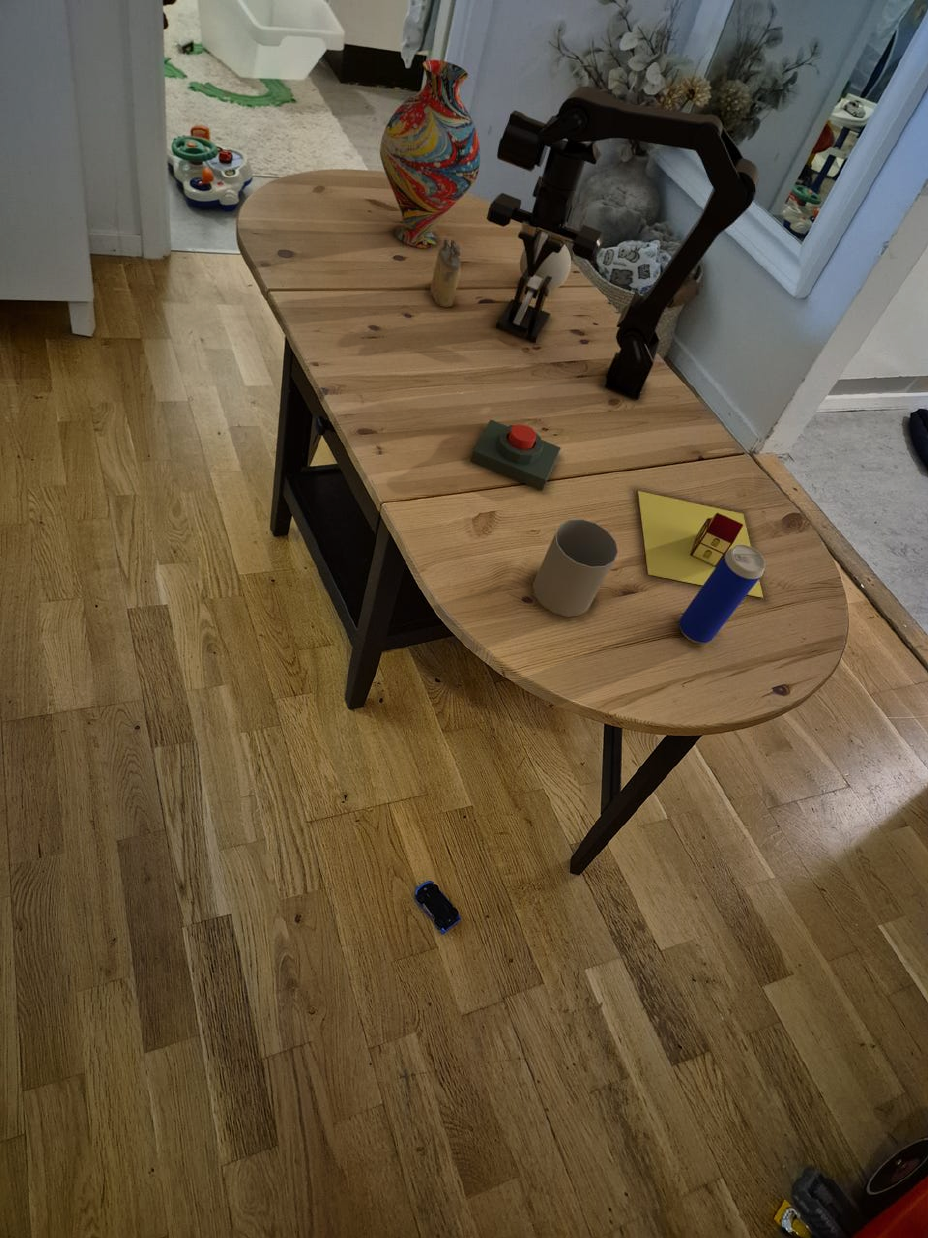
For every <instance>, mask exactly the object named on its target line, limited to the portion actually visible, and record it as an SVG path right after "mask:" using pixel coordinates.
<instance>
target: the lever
mask: <svg viewBox="0 0 928 1238" xmlns="http://www.w3.org/2000/svg"><path fill="white" fill-rule="evenodd" d="M542 281H543V278H540V277H538V276H535V275H534V276H533V277H530V279H529V281H528V284H527V286H526V290H525V294H524V298H523V301H522V305H521V307H520V309H519V311H518V313H517V315H516V318H515V320H514V322H513V323H512V322H510V321H507V320H505V319H502V321H501V323H500V328H499V329H498V330H500V329H501V330H500V331H502V330H504V331H503V332H505V331H506V332H505V333H507V332H509V333H508V334H510V333H511V334H510V335H512V334H514V335H513V336H515V335H516V336H515V337H517V336H519V337H518V338H520V337H521V338H520V339H522V338H524V339H523V340H525V338H526V336H527V334H528V330H529V329H528V328H525V327H523V326H520V323H521V321H522V319H523V317H524V314H525V312H526V310H527V308H528V306H530V304H531V301H532V300H533V299H536V300H537V298H538V294H539V291H540V288H541V285H542Z"/></svg>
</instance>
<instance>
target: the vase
mask: <svg viewBox="0 0 928 1238" xmlns="http://www.w3.org/2000/svg"><path fill="white" fill-rule="evenodd" d="M422 66H423V69H424V72H425V75H426V80H425V84H424V86H423V88H422V89H420V90H419V91H418V92H416V93H415V94H413V95H412V96H410V97H408V98H407V99H406V100H405V101H403V102H402V103H401V105H400V106H398V108H396V110H395V111H394V112H393V114H392V115H391V116H390V118H389V120H388V122H387V124H386V126H385V128H384V131H383V133H382V136H381V141H380V146H379V157H380V160H381V164H382V168H383V170H384V173H385V175H386V178H387V181H388V183H389V185H390V188H391V190H392V193H393V195H394V198H395V201H396V202H397V206H398V208H399V211H400V214H401V219H402V226H399V227H398V228H397V229H396V230H395V235H396V238H398V240H400V241H401V242H403V243H404V244H406V245H408V246H411V247H415V248H420V249H421V248H422V249H426V248H431V247H434V246H435V245H437V237H436V236H435V235H434V233H433V230H434V229H435V227H436V225H437V224H438V222H440V220H441V219H442V218H443V217H444V216H445V215H446V214H447V213H448V212H449V211H450V210H451V209H452V207H453V206H455V204H456V203H458V201H459V200H460V199H462V197H464V195H466V193H467V192H468V191H469V190H470V188H471V187H472V186H473V185H474V184H475V182H476V180H477V179H478V175H479V171H480V164H481V148H480V141H479V136H478V133H477V129H476V126H475V123H474V121H473V119H472V117H471V116H470V113H469V111H468V110H467V108H466V107H465V105H464V104H463V101H462V100H461V97H460V89H461V86H462V84H463V83H464V82H465V81H466V80H467V79H468V77H469V74H468V72H467V71H466V70H465V69H464V68H462V67H461V66H459V65H457V64H455V63H453V62H449V61H445V60H440V59H427V60H424V61H423V63H422Z"/></svg>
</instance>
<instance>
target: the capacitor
mask: <svg viewBox="0 0 928 1238" xmlns="http://www.w3.org/2000/svg"><path fill="white" fill-rule="evenodd" d="M449 241H450V244H449ZM461 254H462V253H461V246H460V244H457V241H456V240H455V239H452V240H449V238H447V237H446V238H444V240H443V246H440V247H439V250H438V253H437V256H436V261H435V265H434V269H433V270H434V271H433V275H432V280H431V285H430V287H429V290H430V292H431V294H430V296H431V298H433V299H434V302H435V303H436V305H438V306H441V307H444V308H450V307H452V306H453V305H454V301H455V297H456V293H457V289H458V283H459V280H460V279H459V278H460V275H461V271H462V269H461V267H462V261H461V259H460V256H461Z"/></svg>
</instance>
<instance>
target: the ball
mask: <svg viewBox="0 0 928 1238" xmlns="http://www.w3.org/2000/svg"><path fill="white" fill-rule="evenodd" d="M547 238H548V235H541V237H540V241H539V246H538V251H537V256H536V260H537V257H538V255H539V253H540V250H541V248H542V246H543V244H544V242H545V241H546V239H547ZM535 262H536V261H535ZM526 268H527V259H526V252H525V248H524V249H523V251H522V253H521V256H520V259H519V272H520V275H521V276H522V274H523V273H524V271H525V270H526ZM571 268H572V257H571V254H570V251H569V249H568V247H567V246H566V243H565V244H564V246H563V247H562V249H561V251H560V252H559V253H555V252H552V253H551V254H550V256H549V257H548V258H547V259H546V260H545V261H544V262H543V263H542V265H541V266H540V267H539V269H538V270H537V272H536V273H535V276H538V277H540V278H543V281H542V284H543V282H544V280H545V279H546V277H547V276H550V277H552V280H551V283H550V287H549V288H550V292H552V291H555V290H557V289H558V288H560V287H561V286H562V285H563V284H564V283H565V282H566V280H567V279H568V277H569V274H570V272H571ZM529 279H530V278H529Z"/></svg>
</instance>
